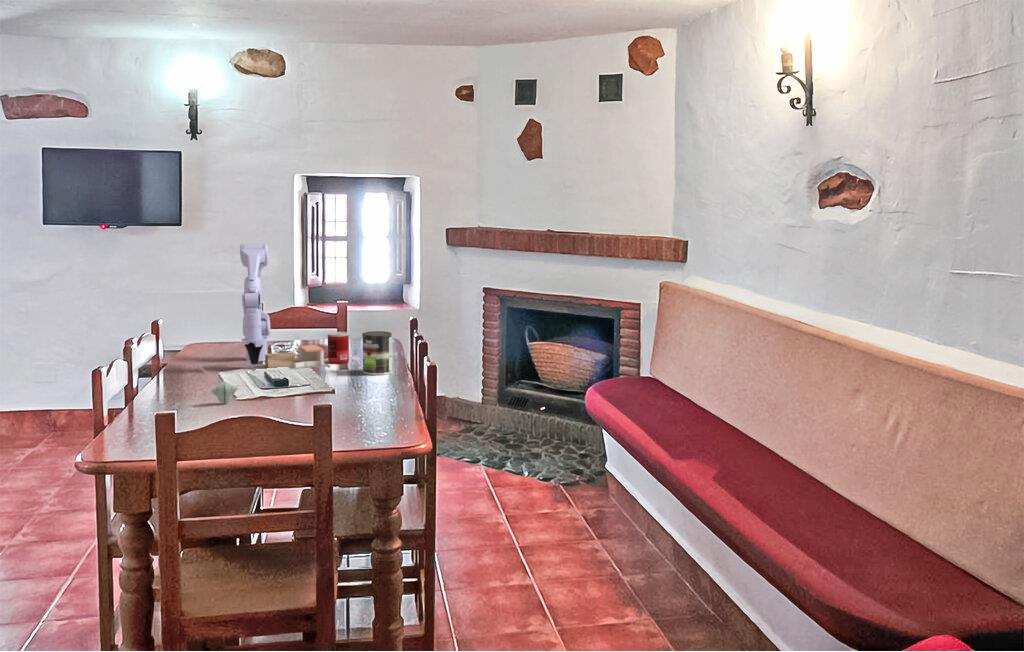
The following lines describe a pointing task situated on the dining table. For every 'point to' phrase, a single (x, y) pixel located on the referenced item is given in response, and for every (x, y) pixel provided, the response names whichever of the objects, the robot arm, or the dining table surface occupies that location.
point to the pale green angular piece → (224, 391)
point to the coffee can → (377, 353)
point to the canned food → (338, 347)
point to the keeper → (303, 358)
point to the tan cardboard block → (280, 360)
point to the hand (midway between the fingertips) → (254, 363)
